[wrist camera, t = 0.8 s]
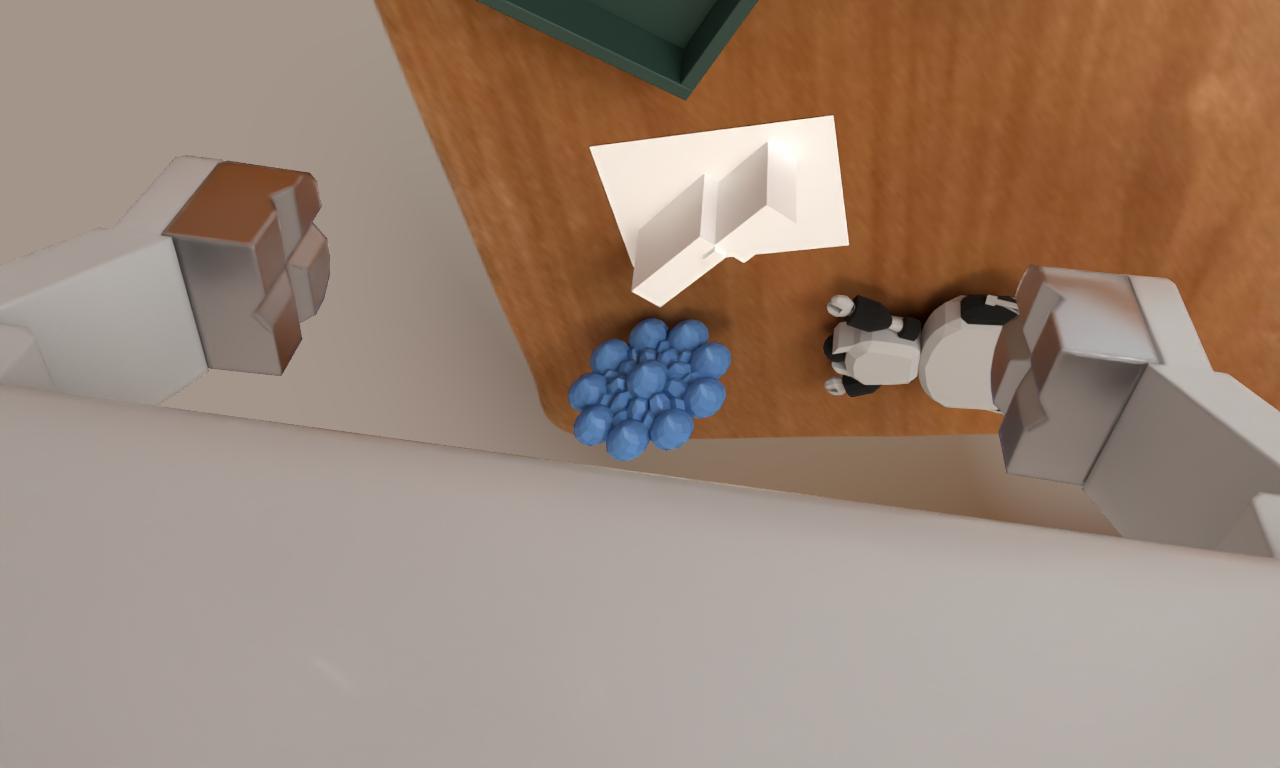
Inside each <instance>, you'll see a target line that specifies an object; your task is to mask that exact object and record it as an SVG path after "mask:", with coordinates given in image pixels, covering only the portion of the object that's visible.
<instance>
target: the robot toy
mask: <svg viewBox="0 0 1280 768" xmlns="http://www.w3.org/2000/svg"><path fill="white" fill-rule="evenodd" d="M827 309H828V312H829V313H830V314H832V315H834V316H835V317H843V316H846V322H840V323H839V324H838V325H837V326H836V327H835V328H834V334H833V335H831V336H829V337H828V338H827V339H826V340H825V343H824V346H823V349H824V354H825V355H826V357H827V358H828V359H829V360H831V361H832V367H833V368H834V370H835V371H836V372H837V373H840V374H843V377H838V376H832V377H830V378H828V379H827V380H826V382H825V388H826V389H828V392H829V393H831V394H832V395H842V394H844V393H845V392H846V393H847V394H848V395H849V396H850V397H855V396H860V395H865V394H870V393H873V392H875V391H876V390H877V389H878V388H879V387H880V386H881V385H892V384H905V383H909V382H912V381H913V379H914V378H915V377H917V373H919V380H920V383H921V386H922V388H923V390H924V392H925V393H926V394H927V395H928V396H930V397H931V398H932V399H933V400H935V401H936V402H938V403H940V404H942V405H943V406H945V407H953V408H970V409H985V410H989V411H993V412H997V413H1000V414H1003V413H1002V412H1001V411H1000V410H999V409H998V408H997V407H996V406H995V405H994V404H993V400H992V394H991V375H990V371H991V366H992V360H993V354H994V348H995V346H996V343H997V340H998V337H999V334H1000V332H1001V329H1002V326H1003V325H1004V324H1006V323H1007V322H1008V321H1010V320H1011V319H1013V318H1014V317H1016V316H1017V315H1019V311H1018V307H1017V302H1016V298H1012V297H1009V296H992V295H988V296H987V295H968V296H959V297H956V298H954V299H952V300H950V301H948V302H945V303H944V304H943V305H941V306H940V307H938V308H937V309H936V310H934V311H933V313H932V314H931V315H930V316H929V318H928V320H927V321H926V323H925V324H924V327H923V329H922V332H921V322H920V320H917V319H914V318H912V317H909V316H906V317H904V318H903V317H897V316H891V315H890V314H889V312H888V311H887V310H886V309H885V308H884V306H883V305H882V304H881V303H879V302H876V301H874V300H871V299H868V298H865V297H862V296H859V295H858V296H856V297H855V298H854V299H853V300H851V299H850V298H849V297H847V296H844V295H836V296H834V297H833V298H832V299H831V302H830V301H829V303H828V304H827Z"/></svg>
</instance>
